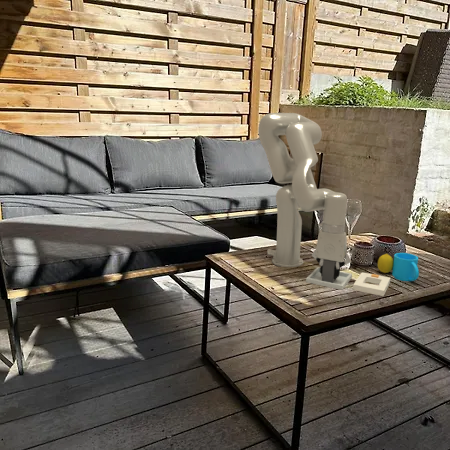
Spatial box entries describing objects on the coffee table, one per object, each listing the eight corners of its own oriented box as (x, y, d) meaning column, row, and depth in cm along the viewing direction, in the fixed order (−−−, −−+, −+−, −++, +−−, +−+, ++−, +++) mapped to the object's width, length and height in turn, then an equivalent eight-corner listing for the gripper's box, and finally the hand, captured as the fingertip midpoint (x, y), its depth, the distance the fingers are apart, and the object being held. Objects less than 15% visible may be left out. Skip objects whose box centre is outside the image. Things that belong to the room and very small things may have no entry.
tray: (305, 283, 149) (306, 278, 149) (317, 271, 160) (317, 267, 160) (342, 291, 143) (342, 286, 143) (351, 278, 154) (352, 273, 154)
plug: (321, 280, 150) (323, 259, 148) (325, 276, 155) (327, 255, 152) (332, 283, 148) (334, 261, 146) (336, 278, 153) (338, 257, 151)
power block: (352, 291, 143) (353, 283, 143) (361, 278, 154) (361, 271, 153) (383, 297, 139) (384, 289, 138) (389, 284, 150) (390, 276, 149)
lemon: (393, 277, 156) (395, 256, 154) (377, 275, 157) (379, 255, 155) (390, 271, 161) (393, 252, 159) (375, 270, 162) (377, 251, 160)
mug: (387, 273, 160) (389, 253, 157) (407, 272, 161) (409, 252, 159) (405, 286, 148) (408, 264, 146) (426, 284, 150) (430, 263, 147)
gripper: (306, 227, 147) (303, 275, 152) (355, 234, 139) (350, 285, 144) (313, 222, 153) (310, 269, 158) (360, 228, 146) (355, 278, 150)
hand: (329, 276), depth 151 cm, fingers closed on plug, 4 cm apart
